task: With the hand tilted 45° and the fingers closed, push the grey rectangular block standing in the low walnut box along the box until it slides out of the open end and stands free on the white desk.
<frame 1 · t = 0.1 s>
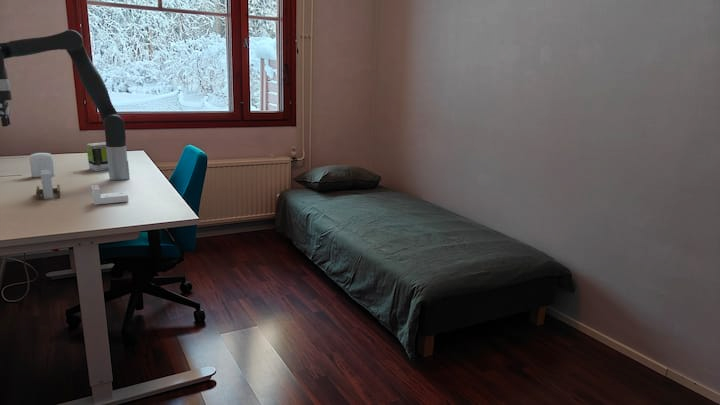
hand: (6, 125, 223), 29 cm above the table, tool pointing down, fingers open, 8 cm apart
tea box: (105, 169, 278), on the table
walnut box: (49, 196, 216), on the table
grey rectangular block: (49, 196, 215), resting in walnut box
bracket: (111, 203, 209), on the table
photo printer: (43, 176, 255), on the table
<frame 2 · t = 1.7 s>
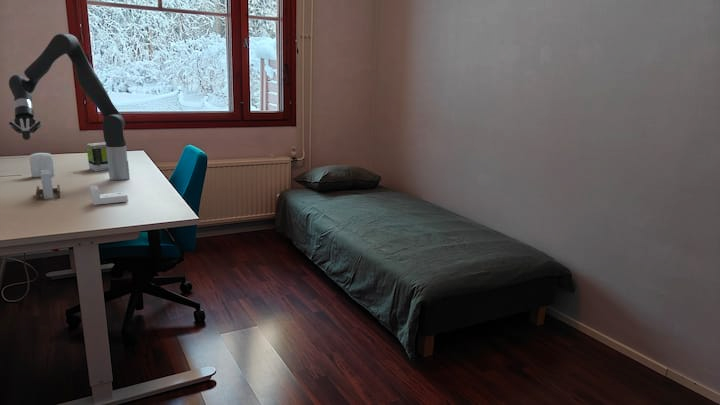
hand: (26, 138, 225), 23 cm above the table, tool tilted 45°, fingers closed
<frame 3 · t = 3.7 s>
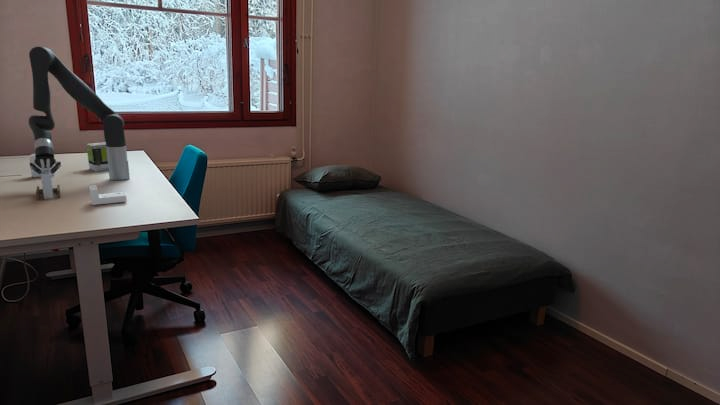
hand: (47, 180, 222), 5 cm above the table, tool tilted 45°, fingers closed
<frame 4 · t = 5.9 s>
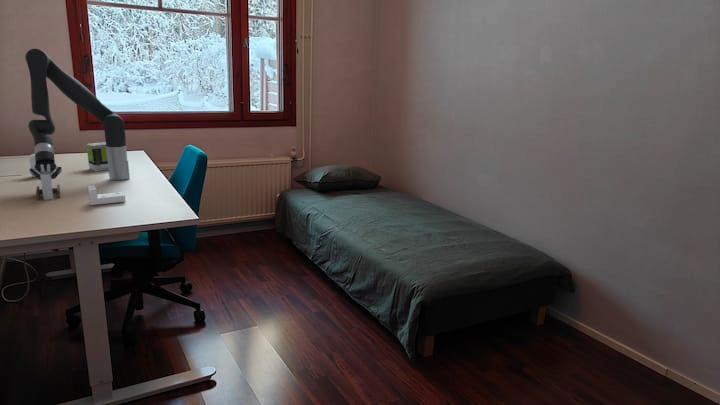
hand: (47, 186, 218), 4 cm above the table, tool tilted 45°, fingers closed
grey rectangular block: (48, 196, 214), resting in walnut box, touching gripper
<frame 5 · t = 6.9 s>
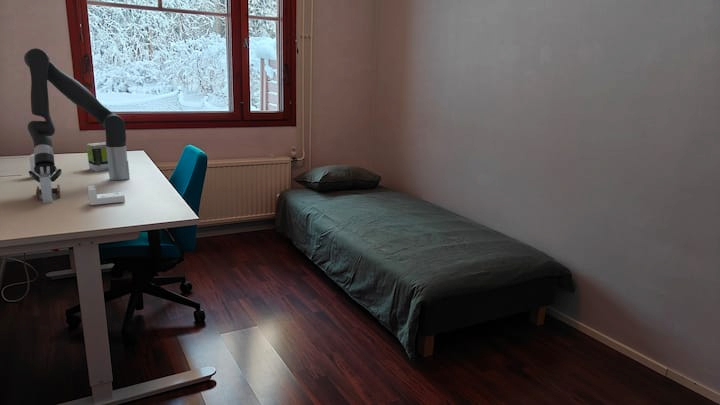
hand: (47, 188, 213), 4 cm above the table, tool tilted 45°, fingers closed
grey rectangular block: (48, 199, 209), on the table, touching gripper
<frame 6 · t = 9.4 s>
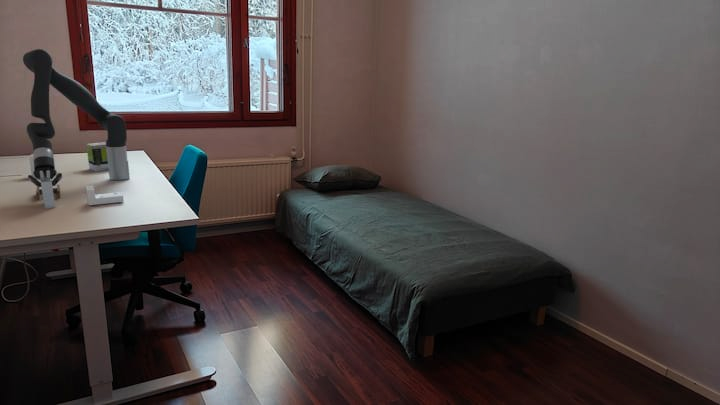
hand: (47, 193, 205), 4 cm above the table, tool tilted 45°, fingers closed
grey rectangular block: (49, 205, 202), on the table, touching gripper
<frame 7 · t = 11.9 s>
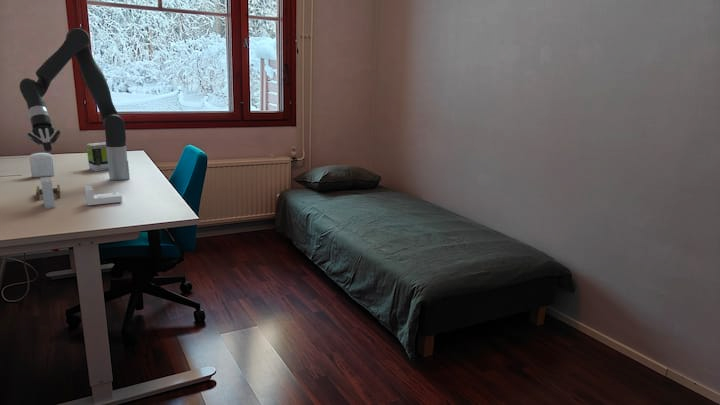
hand: (48, 150, 214), 20 cm above the table, tool tilted 40°, fingers closed
grey rectangular block: (49, 205, 201), on the table
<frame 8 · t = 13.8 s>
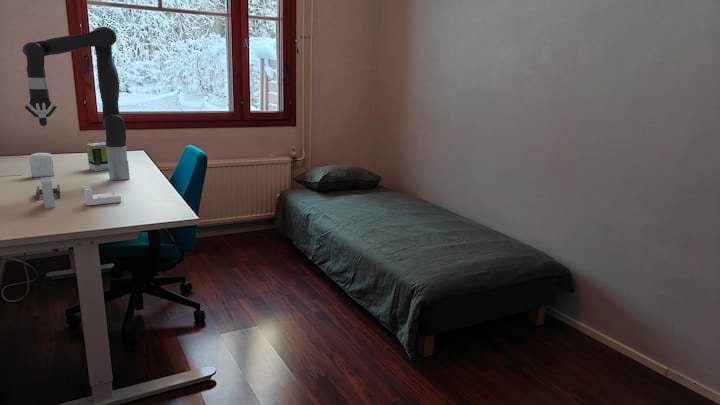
hand: (43, 125, 226), 29 cm above the table, tool pointing down, fingers closed
at the end: grey rectangular block inside the target area (3.0 cm from its centre), on the table; grey rectangular block tilted 0°; grey rectangular block touching table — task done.
